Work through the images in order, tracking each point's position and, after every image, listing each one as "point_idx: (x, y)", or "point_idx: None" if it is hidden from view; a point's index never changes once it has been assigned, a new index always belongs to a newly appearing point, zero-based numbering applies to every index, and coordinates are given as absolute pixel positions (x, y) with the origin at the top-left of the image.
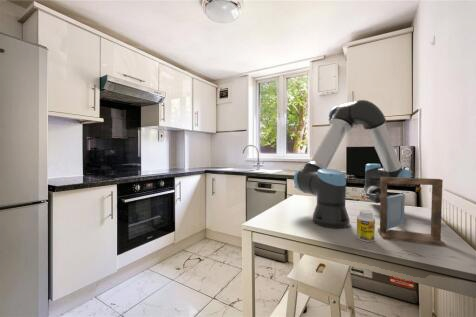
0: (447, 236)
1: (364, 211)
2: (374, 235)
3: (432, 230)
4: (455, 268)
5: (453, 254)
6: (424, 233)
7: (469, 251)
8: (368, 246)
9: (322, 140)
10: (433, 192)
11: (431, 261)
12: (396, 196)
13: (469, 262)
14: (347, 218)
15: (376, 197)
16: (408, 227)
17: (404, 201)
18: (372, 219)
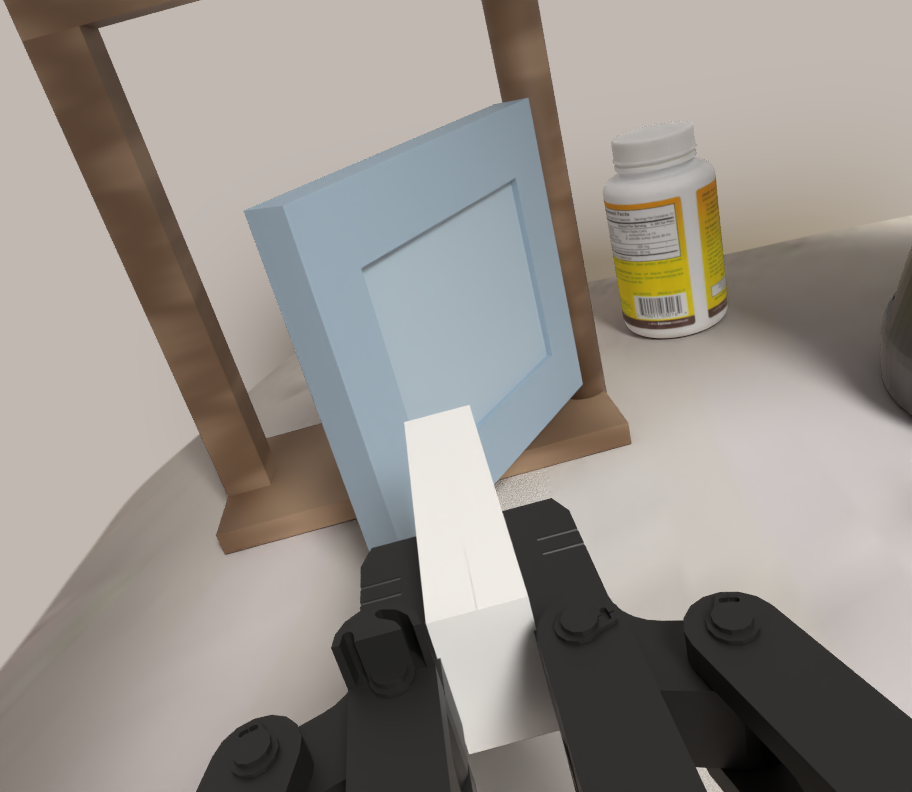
0: (86, 629)
1: (660, 129)
2: (620, 296)
3: (253, 421)
4: None
5: (276, 407)
6: (279, 517)
7: (163, 469)
8: None
9: None
10: (122, 108)
11: None
12: (393, 147)
13: (260, 385)
14: (895, 305)
15: (771, 641)
16: (326, 681)
17: (283, 308)
18: (613, 176)
